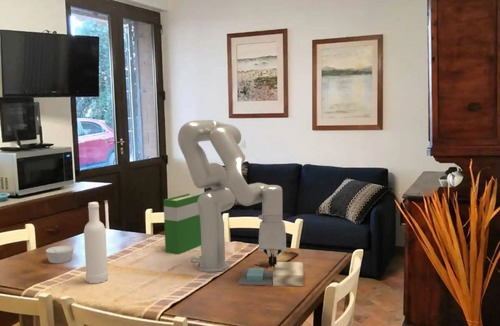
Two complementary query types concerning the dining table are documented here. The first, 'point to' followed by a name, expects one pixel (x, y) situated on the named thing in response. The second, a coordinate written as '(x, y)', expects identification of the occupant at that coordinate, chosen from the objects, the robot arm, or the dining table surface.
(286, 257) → the parchment
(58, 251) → the ramekin
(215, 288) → the dining table surface
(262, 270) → the tile
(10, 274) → the dining table surface
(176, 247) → the hardback book
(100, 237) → the bottle
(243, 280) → the mat
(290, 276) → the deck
